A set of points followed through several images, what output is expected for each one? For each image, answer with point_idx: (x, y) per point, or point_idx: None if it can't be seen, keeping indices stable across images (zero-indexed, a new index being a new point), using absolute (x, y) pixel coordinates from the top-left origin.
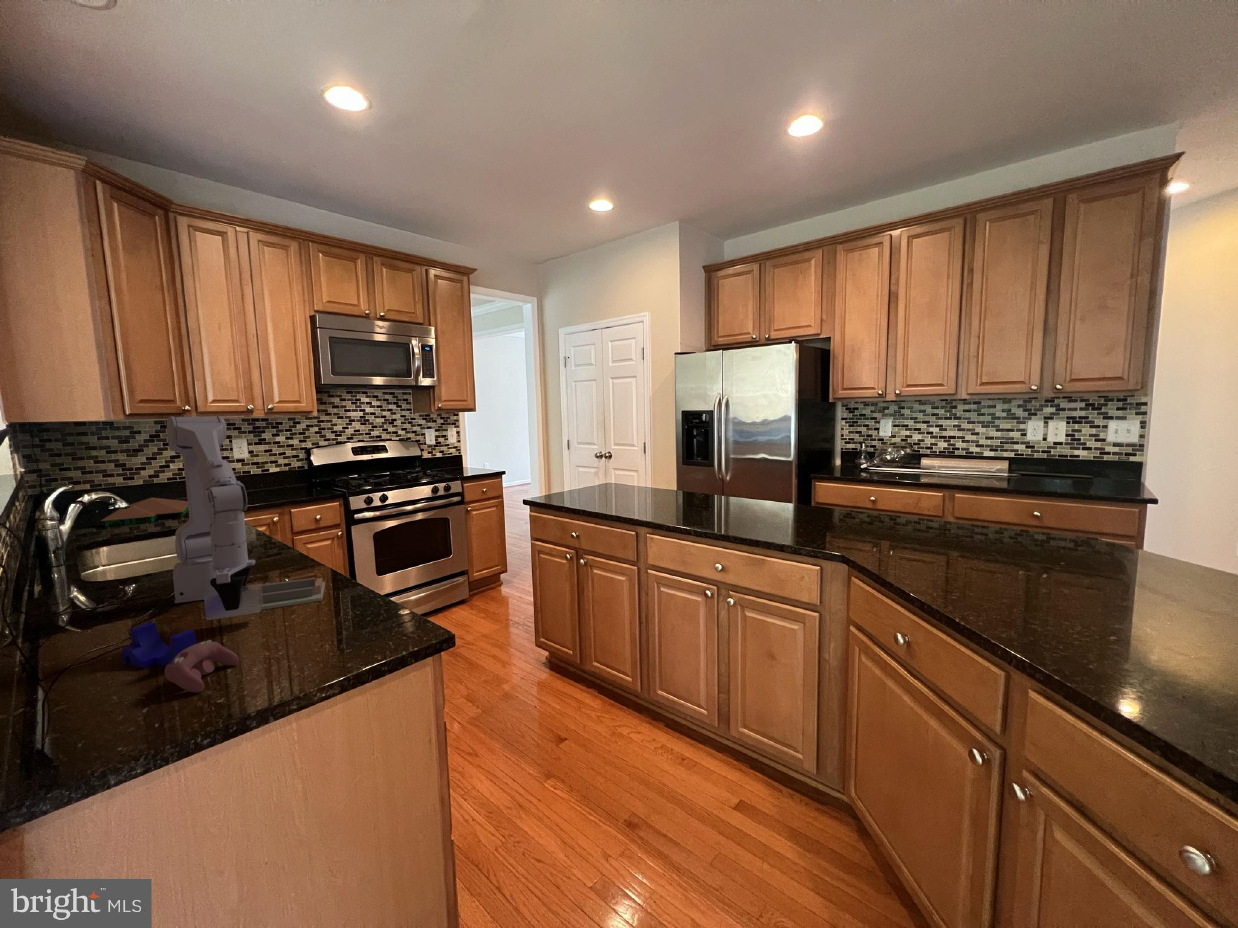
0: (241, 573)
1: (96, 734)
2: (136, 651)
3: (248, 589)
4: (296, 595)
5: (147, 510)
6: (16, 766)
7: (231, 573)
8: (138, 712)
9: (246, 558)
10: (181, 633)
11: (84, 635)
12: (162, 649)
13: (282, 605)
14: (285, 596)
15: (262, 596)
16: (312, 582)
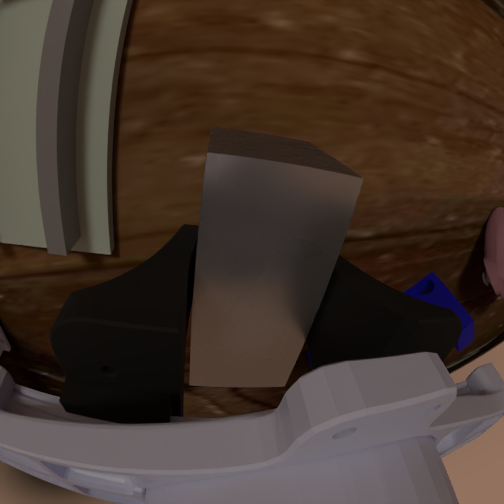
0: (181, 349)
1: (498, 321)
2: None
3: (317, 235)
4: (83, 12)
5: None
6: (487, 350)
7: (493, 397)
8: (498, 302)
9: (414, 490)
10: (462, 339)
11: None
12: None
13: (119, 62)
14: (73, 54)
15: (222, 135)
16: None
